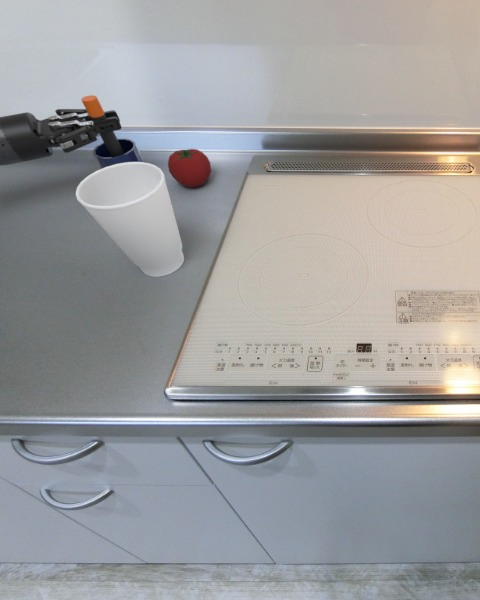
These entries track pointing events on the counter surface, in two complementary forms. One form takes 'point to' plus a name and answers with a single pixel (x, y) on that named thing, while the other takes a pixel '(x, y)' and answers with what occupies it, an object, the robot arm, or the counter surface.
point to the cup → (135, 214)
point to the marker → (97, 114)
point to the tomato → (189, 167)
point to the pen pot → (106, 160)
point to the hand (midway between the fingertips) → (118, 119)
